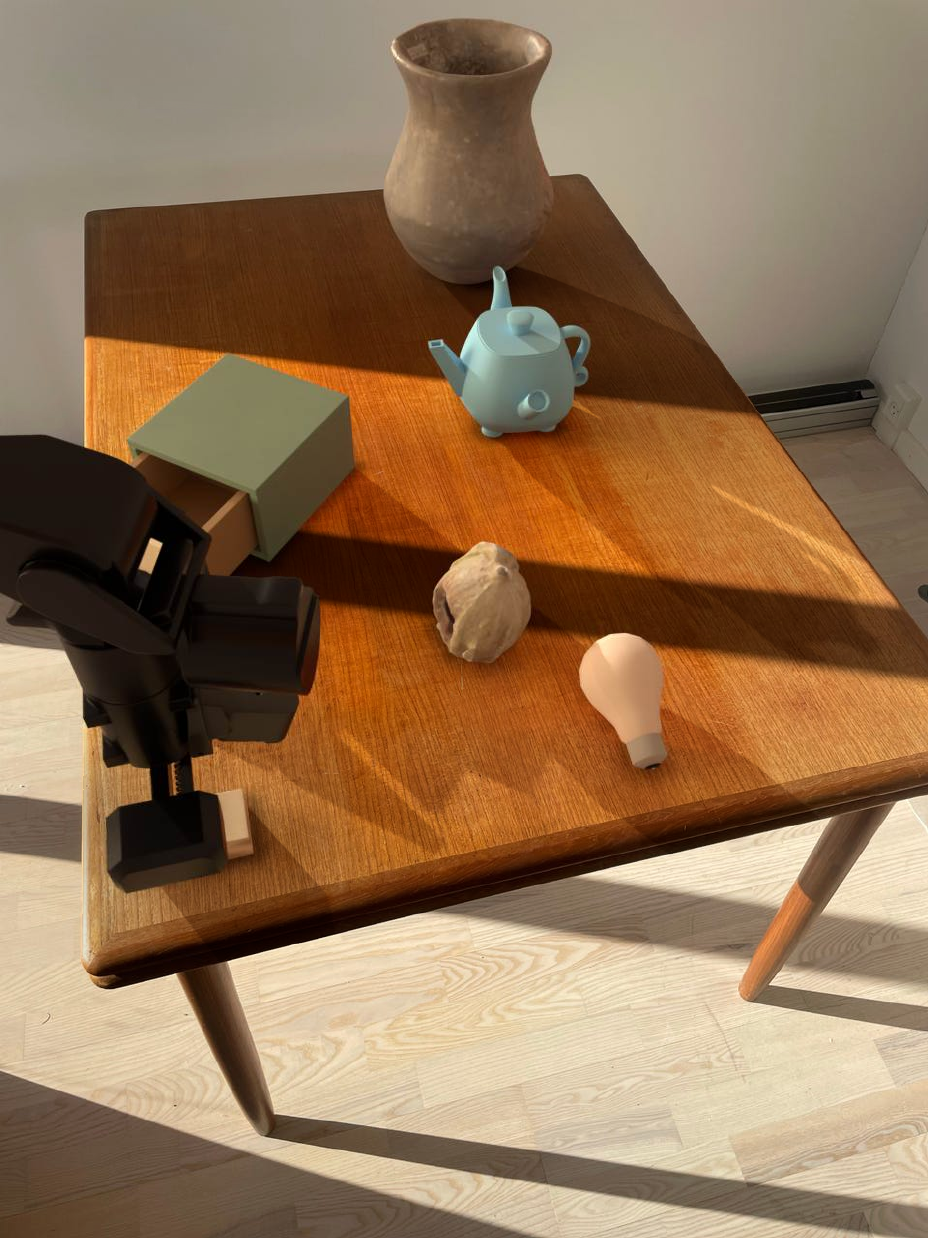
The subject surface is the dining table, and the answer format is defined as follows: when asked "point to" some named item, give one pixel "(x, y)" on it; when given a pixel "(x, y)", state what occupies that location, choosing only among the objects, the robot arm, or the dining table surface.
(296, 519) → the cabinet
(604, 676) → the light bulb
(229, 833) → the beige rectangular block
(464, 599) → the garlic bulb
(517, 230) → the vase
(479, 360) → the teapot
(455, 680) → the dining table surface
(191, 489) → the drawer
